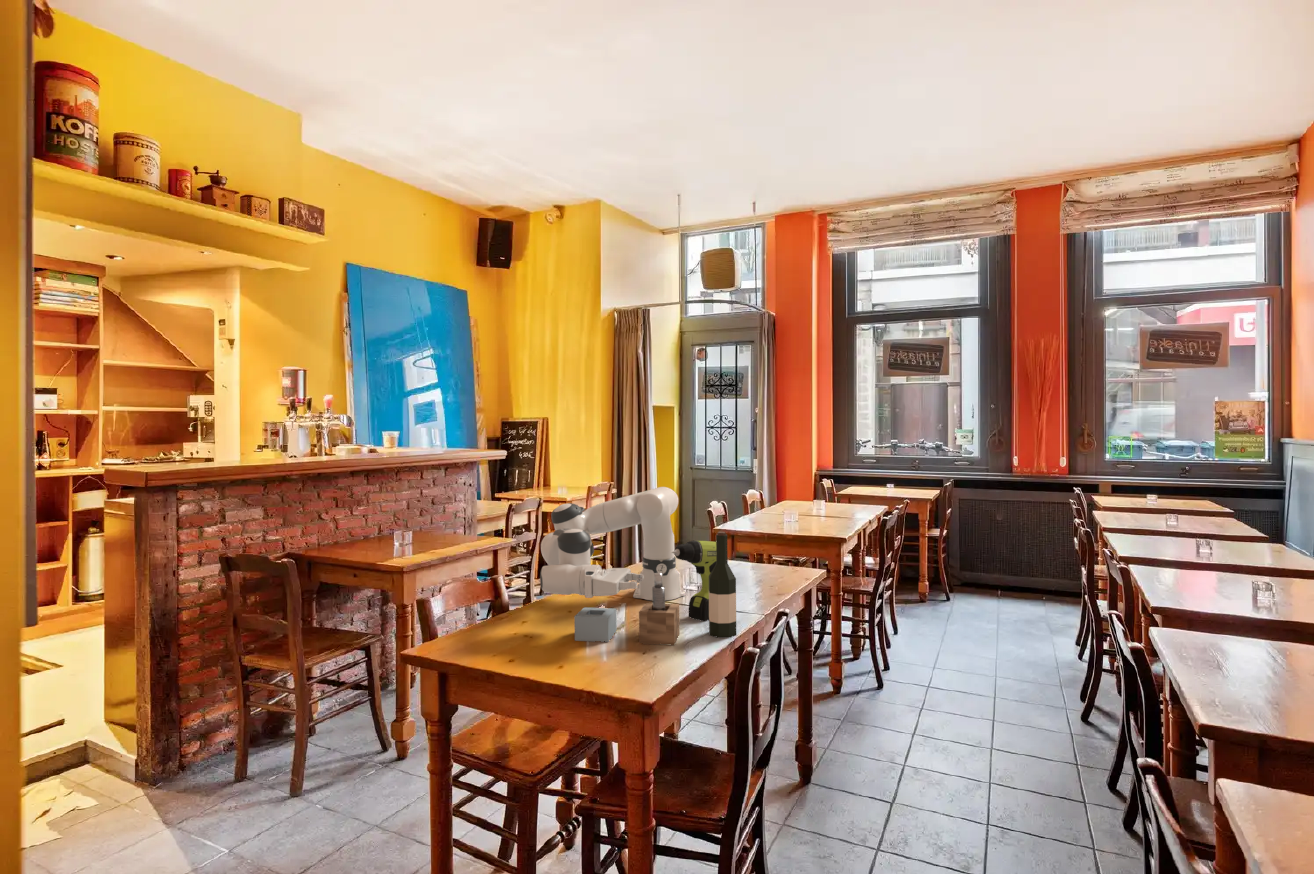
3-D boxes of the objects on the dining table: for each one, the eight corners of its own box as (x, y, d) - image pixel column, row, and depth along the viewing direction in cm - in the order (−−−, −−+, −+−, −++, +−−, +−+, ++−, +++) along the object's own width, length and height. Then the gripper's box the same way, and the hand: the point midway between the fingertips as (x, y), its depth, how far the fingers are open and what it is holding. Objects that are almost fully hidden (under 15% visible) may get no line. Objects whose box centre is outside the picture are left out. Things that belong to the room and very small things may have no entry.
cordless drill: (681, 628, 214) (680, 546, 213) (664, 624, 219) (663, 543, 218) (730, 613, 230) (729, 537, 230) (713, 609, 235) (712, 534, 235)
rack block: (646, 633, 209) (645, 603, 209) (679, 634, 208) (679, 604, 207) (639, 643, 199) (638, 611, 199) (674, 645, 198) (673, 613, 198)
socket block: (584, 630, 213) (584, 607, 213) (616, 631, 211) (616, 608, 211) (574, 640, 203) (574, 616, 203) (608, 642, 201) (608, 617, 201)
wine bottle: (703, 631, 210) (702, 531, 210) (728, 628, 214) (727, 529, 213) (716, 639, 203) (715, 535, 202) (742, 635, 206) (741, 533, 205)
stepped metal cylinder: (652, 626, 205) (651, 572, 205) (664, 626, 206) (663, 571, 205) (654, 630, 202) (652, 575, 201) (666, 629, 202) (665, 574, 201)
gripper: (602, 582, 216) (646, 584, 214) (584, 599, 196) (633, 600, 194) (602, 562, 216) (646, 563, 214) (583, 576, 196) (632, 578, 194)
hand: (639, 581), depth 204 cm, fingers open, 8 cm apart
